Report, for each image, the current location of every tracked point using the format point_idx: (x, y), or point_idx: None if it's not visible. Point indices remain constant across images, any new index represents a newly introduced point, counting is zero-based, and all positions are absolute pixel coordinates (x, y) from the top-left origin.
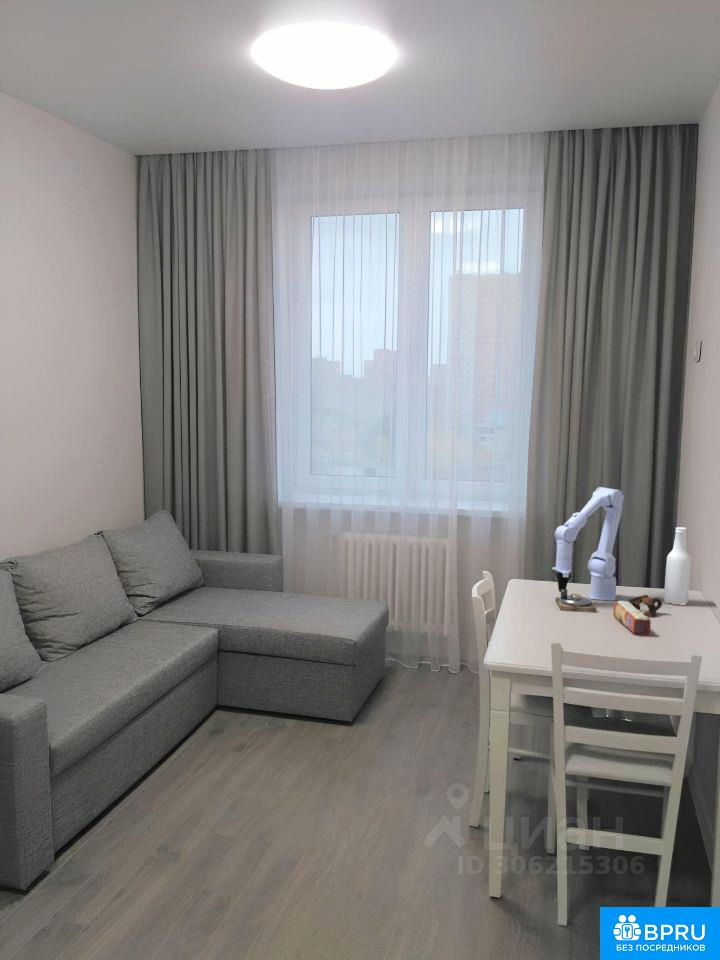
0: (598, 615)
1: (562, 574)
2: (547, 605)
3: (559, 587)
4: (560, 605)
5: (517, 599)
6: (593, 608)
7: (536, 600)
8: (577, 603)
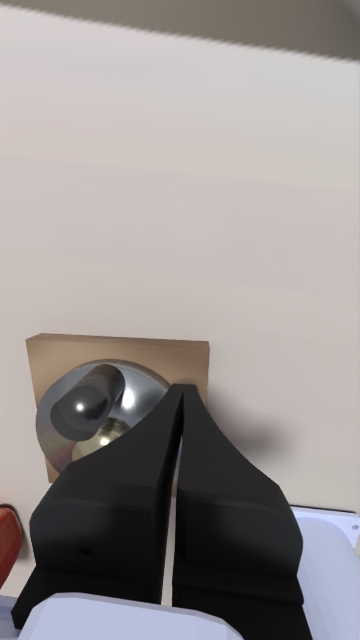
0: (22, 463)
1: (25, 592)
2: (112, 284)
3: (161, 400)
4: (41, 342)
5: (211, 96)
6: (47, 472)
7: (207, 234)
8: (38, 427)
